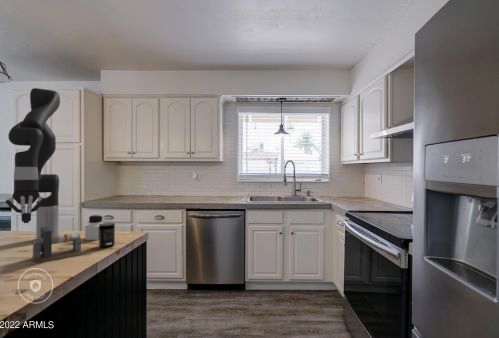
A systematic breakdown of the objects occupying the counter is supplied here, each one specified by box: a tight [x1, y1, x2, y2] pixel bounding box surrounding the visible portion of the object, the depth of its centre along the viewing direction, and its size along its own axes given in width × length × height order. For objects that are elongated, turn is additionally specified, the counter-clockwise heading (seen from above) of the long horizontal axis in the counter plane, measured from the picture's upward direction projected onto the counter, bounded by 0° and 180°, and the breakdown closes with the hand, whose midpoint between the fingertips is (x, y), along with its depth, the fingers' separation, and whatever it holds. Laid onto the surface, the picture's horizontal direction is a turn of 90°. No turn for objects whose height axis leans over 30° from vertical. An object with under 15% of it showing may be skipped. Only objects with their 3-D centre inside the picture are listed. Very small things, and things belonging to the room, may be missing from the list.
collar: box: [41, 227, 53, 257], centre depth 116 cm, size 10×2×10 cm, turn 43°
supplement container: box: [98, 222, 116, 249], centre depth 135 cm, size 7×7×10 cm
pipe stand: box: [32, 232, 83, 264], centre depth 119 cm, size 8×16×9 cm, turn 133°
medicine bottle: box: [84, 214, 103, 241], centre depth 148 cm, size 7×7×12 cm
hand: (26, 222), depth 112 cm, fingers closed
